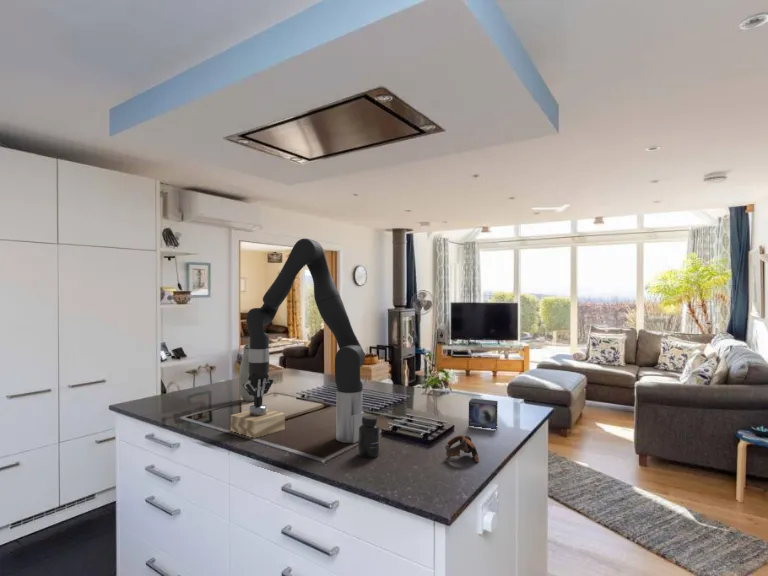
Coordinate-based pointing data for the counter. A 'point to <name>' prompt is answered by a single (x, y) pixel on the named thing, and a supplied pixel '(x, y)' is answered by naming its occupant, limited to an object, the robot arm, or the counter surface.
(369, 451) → the supplement bottle
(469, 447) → the brown curved band
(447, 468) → the counter surface
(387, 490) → the counter surface
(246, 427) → the oak block
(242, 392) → the grey bottle
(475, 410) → the small box
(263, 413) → the steel pin
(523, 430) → the counter surface
